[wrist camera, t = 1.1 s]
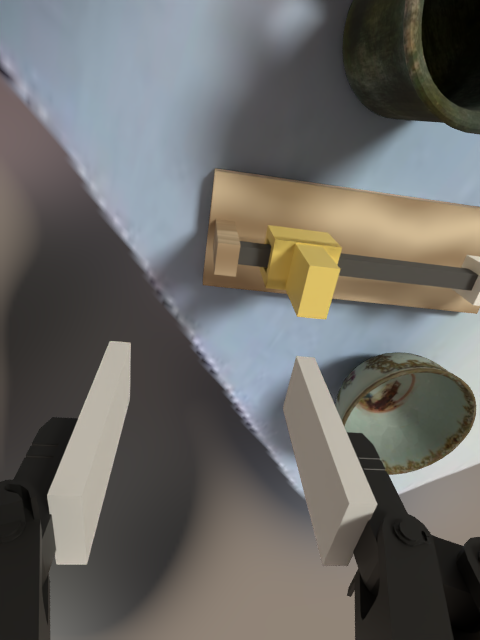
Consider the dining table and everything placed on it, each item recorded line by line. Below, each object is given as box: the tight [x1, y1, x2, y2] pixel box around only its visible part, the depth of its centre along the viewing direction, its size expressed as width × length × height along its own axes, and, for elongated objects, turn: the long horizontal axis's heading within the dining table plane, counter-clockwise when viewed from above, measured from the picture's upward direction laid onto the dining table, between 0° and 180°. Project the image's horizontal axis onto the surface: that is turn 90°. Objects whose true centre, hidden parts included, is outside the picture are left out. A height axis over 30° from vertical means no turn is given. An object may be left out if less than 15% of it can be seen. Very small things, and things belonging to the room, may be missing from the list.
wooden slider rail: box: [203, 168, 480, 314], centre depth 33 cm, size 10×28×8 cm, turn 82°
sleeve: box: [260, 225, 342, 319], centre depth 28 cm, size 4×5×8 cm
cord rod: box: [238, 241, 478, 291], centre depth 31 cm, size 1×24×1 cm, turn 82°
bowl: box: [336, 353, 476, 475], centre depth 41 cm, size 14×13×8 cm
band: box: [452, 255, 480, 306], centre depth 32 cm, size 3×1×3 cm, turn 172°
